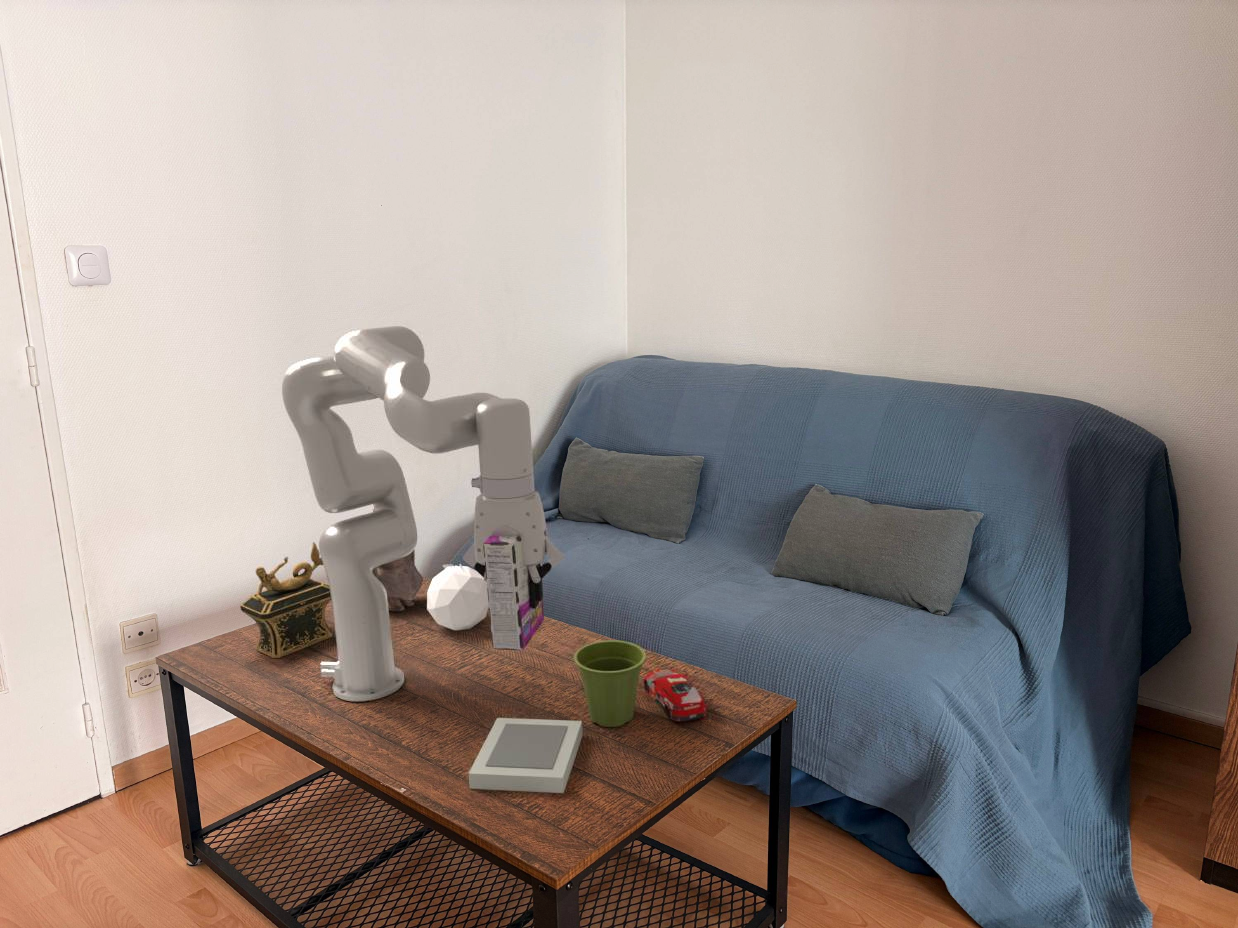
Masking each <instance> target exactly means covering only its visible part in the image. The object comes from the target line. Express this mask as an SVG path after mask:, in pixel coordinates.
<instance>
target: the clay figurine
mask: <svg viewBox="0 0 1238 928" xmlns="http://www.w3.org/2000/svg"><path fill="white" fill-rule="evenodd" d="M372 512H375V508H374V507H373V509H372ZM415 552H416V551H415V549H414V550H413V551H412V552H411V553H410V554H409V555H407V556H405V557H403V558H400V559H397V560H394V561H391V562H388V563H385V564H382V565H380V566H378V567H375V568H374V569H373V570H372V572H373V574H374V576H375V577H376V578H377V579H378V580H379V581H380V582H381V583H382V584H383V585H384V587H385V590H386V593H387V601H388V610H389V612H397V613H398V612H403V611H404V610H405V607H408V608H409V607H412V606H414V605H415V603H414V601H413V600H414V599H415V597H416V596H417V594H418V593H419V591H420V590H421V587H422V585H423V581H424V579H423V576H422V574H421V573H420V571H419V570H418V568H417V566H416V565H415V563H416V562H415Z"/></svg>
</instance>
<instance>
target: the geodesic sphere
mask: <svg viewBox="0 0 1238 928" xmlns="http://www.w3.org/2000/svg"><path fill="white" fill-rule="evenodd" d="M442 567H443V570H442V571H441V572H439V573H438V574H437V575H436V576H434V577H432V580H431V582H430V585H429V587H428V589H427V592H426V602H427V603H426V610H427V611H428V612H429V614H430V615H431V616H432V618H433V619H434V621H435V623H437V625H439V626H442V627H444V628H448V629H450V630H453V631H463V630H470V629H472V628H473V627H474V626H476V625H477V624H479V623H480V622H481V621H482V620H484V619H485V618H486V616H487V615H488V614H487V613H488V611H489V603H488V592H487V582H485V580H484V577H482V576H481V575H480V574H479V573H478V572H477V571H476V570H475V569H474V568H473V567H472V568H471V566H470V567H469V566H466V565H465V566H463V565H461V564H459V565H457V564H455V566H454V564H451V563H449V564H447V563H445V564H442Z"/></svg>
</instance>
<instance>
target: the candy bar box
mask: <svg viewBox="0 0 1238 928" xmlns="http://www.w3.org/2000/svg"><path fill="white" fill-rule="evenodd" d="M483 549H484V560H485V572H486V582H487V592H488V603H489V607H488V611H489V623H490V634H491V647H492V649H493V650H499V651H500V650H501V651H502V650H503V651H504V650H505V651H523V650H525V648H526V646H527V645H528V644H529V643H530V641H531V640H532V637H534V635H535V634H536V632H537V630H538V629H539V627H540V626H542V623H543V622H544V620H545V617H544V616H545V615H544V614H545V613H544V603H543V602H544V601H543V599H542V601H540V602H539V604H538V606H537V607H536V609H532V608H531V605H530V591H529V583H530V582H531V578H532V577H531V575H530V572H529V570H528V567H527V566H524V565H523V555H522V543H521V537H519V536H493V537H489V538H488V539H487V540H485V541H484V542H483Z"/></svg>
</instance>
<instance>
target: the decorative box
mask: <svg viewBox="0 0 1238 928" xmlns="http://www.w3.org/2000/svg"><path fill="white" fill-rule="evenodd" d="M311 547H312V548H311V552H310V561H312V562H313V565H311V564H310V563H309V562H307V561H301V562H299V563H297V564H296V565H295V566H294V568H293V569H292V576H293V577H290V578H286V579H284V580H281V582H280V581H279V579H278V578H277V576H275V574H277V572H278V571H279V570H280V569H281V568H283V567H284V566H285V565H286V564H288V560H289V556H286V557H284V558H283V560H284V562H281V563H280V564H278V566H277V565H276V567H275V568H274V569H273V570H271V571H270V572H269V573H267V571H266V569H265V568H264V567H262V566H258V567H256V568H255V574H256V576H257V577H258V579H259V580H260V583H259V585H258V590H257V593H254V594H252V595H251V596H250V597H249V598H247V599H246V600H245V601H244V602H242V603H241V604H240V606H239V607H240V611H242V613H244V614H246V615H247V616H248V617H250V619H252V621H253V620H254V621H255V624H257V627H258V628H259V638H258V639H259V640H258V642H257V645H256V648H255V650H256V651H258V652H260V653H262V654H264V655H267V656H268V657H271V658H273V659H279V658H282V657H286V656H288V655H291V654H294V653H296V652H297V651H300V650H303V649H305V648H308V647H311V646H313V645H316V644H318V643H321V642H323V641H325V640H328V639H331V638H332V637H333V635H334V634H333V632H332V630H331V628H330V627H329V625H328V623H327V621H326V617H325V615H326V614H325V613H326V608H327V605H329V603H330V602H332V601H331V594H330V588H329V584H327V583H324V582H321V581H319V580H317V579H313V578H311V576H312V575H313V572H314V571H315V570H316V569H317V568H318V567H319V566H324V565H323V562H322V559H321V555H320V551H319V548H318V546H317V544H316V542H314V541H313V542H312V546H311ZM302 570H304V571H303V572H302V573H300V572H301V571H302ZM299 573H300V574H299ZM263 588H265V590H263Z"/></svg>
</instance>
